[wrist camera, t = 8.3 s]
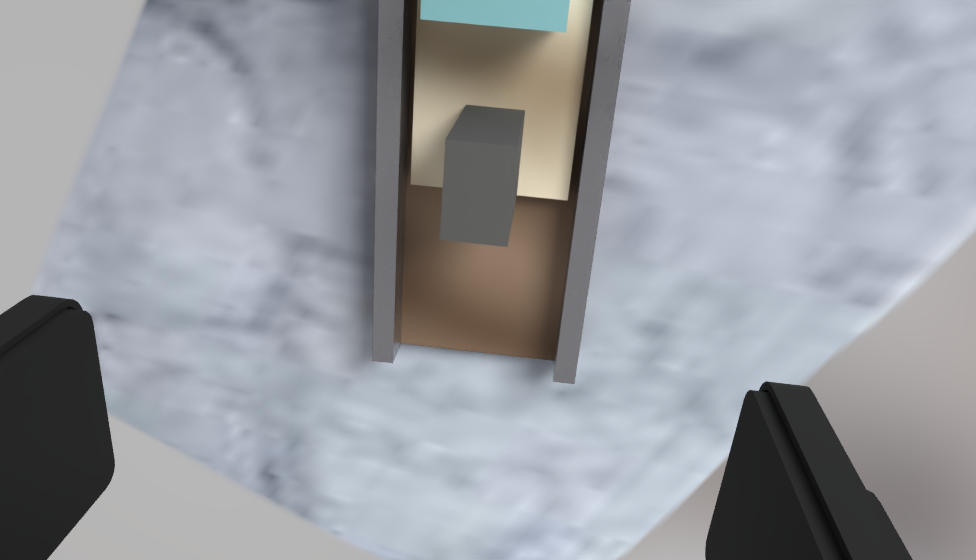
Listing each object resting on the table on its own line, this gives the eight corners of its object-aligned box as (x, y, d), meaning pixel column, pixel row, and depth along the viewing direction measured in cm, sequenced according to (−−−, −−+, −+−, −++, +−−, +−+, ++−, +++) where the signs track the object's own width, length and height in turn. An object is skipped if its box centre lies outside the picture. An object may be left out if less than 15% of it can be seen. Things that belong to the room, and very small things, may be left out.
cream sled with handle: (426, -133, 23) (387, -155, 18) (607, -118, 23) (620, -137, 18) (414, 177, 27) (379, 233, 22) (567, 193, 27) (568, 253, 22)
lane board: (395, -170, 24) (378, -182, 22) (649, -150, 23) (658, -160, 21) (383, 331, 31) (369, 360, 29) (575, 353, 31) (577, 384, 29)
